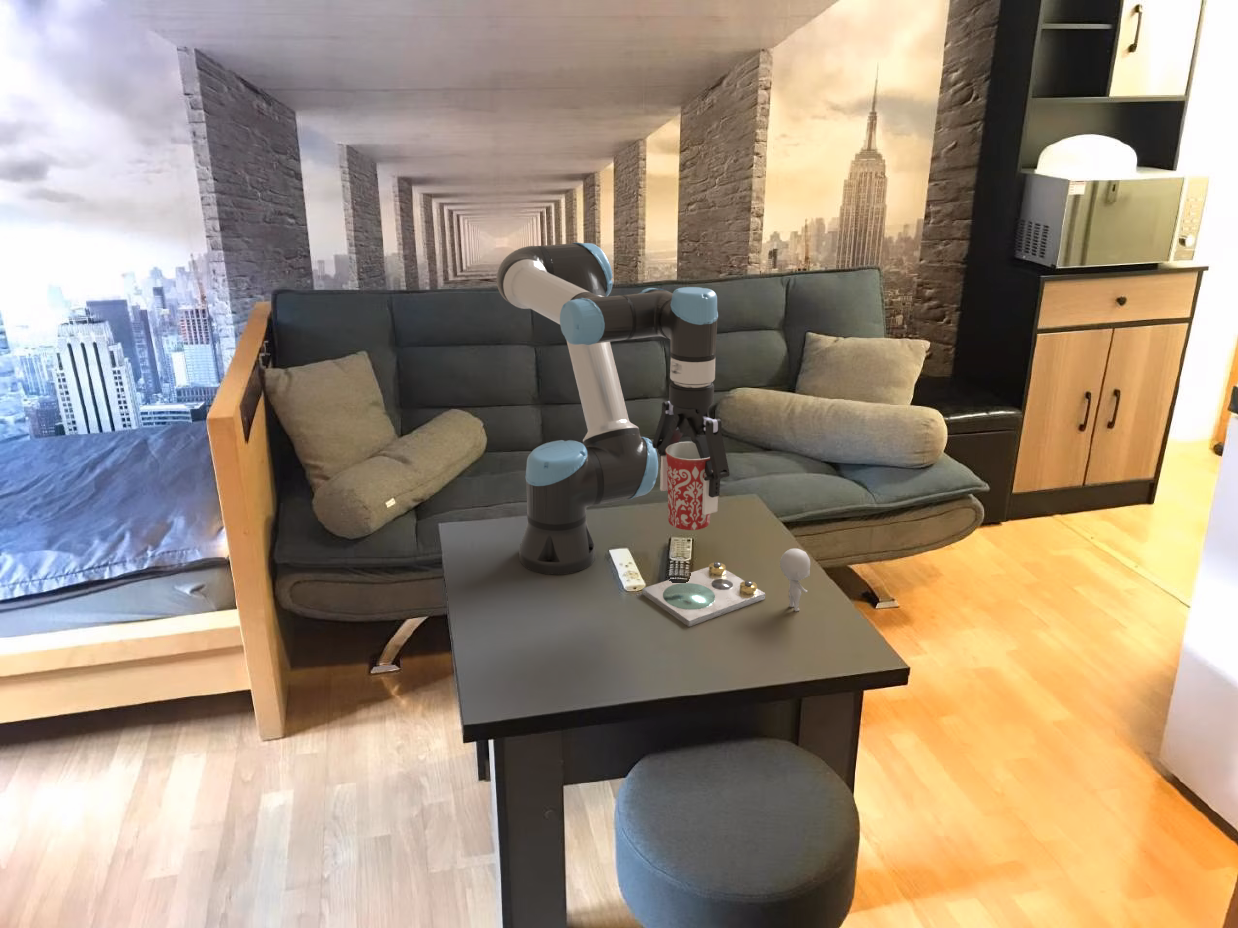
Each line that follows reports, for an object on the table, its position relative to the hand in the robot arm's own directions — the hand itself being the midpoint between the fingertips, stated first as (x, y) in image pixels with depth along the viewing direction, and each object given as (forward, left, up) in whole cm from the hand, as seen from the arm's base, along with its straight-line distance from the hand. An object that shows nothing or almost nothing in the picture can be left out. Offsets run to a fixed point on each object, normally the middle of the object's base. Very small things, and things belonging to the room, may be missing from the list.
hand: (687, 500), depth 171 cm
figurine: (+12, +15, -21) cm, 29 cm away
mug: (0, 0, -3) cm, 3 cm away
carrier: (0, +5, -21) cm, 21 cm away
